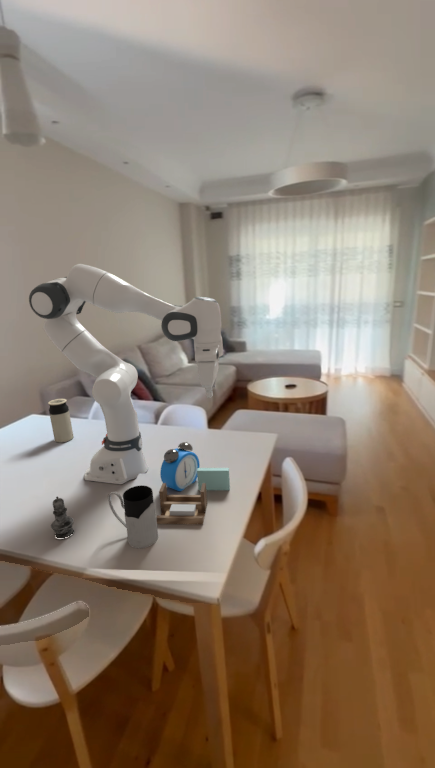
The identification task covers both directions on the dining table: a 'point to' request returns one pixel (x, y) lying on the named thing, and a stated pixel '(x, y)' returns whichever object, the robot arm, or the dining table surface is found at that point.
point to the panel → (214, 478)
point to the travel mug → (60, 420)
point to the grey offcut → (182, 510)
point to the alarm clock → (179, 467)
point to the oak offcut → (169, 512)
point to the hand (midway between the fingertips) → (211, 392)
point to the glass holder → (138, 515)
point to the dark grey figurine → (61, 519)
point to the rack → (182, 499)
